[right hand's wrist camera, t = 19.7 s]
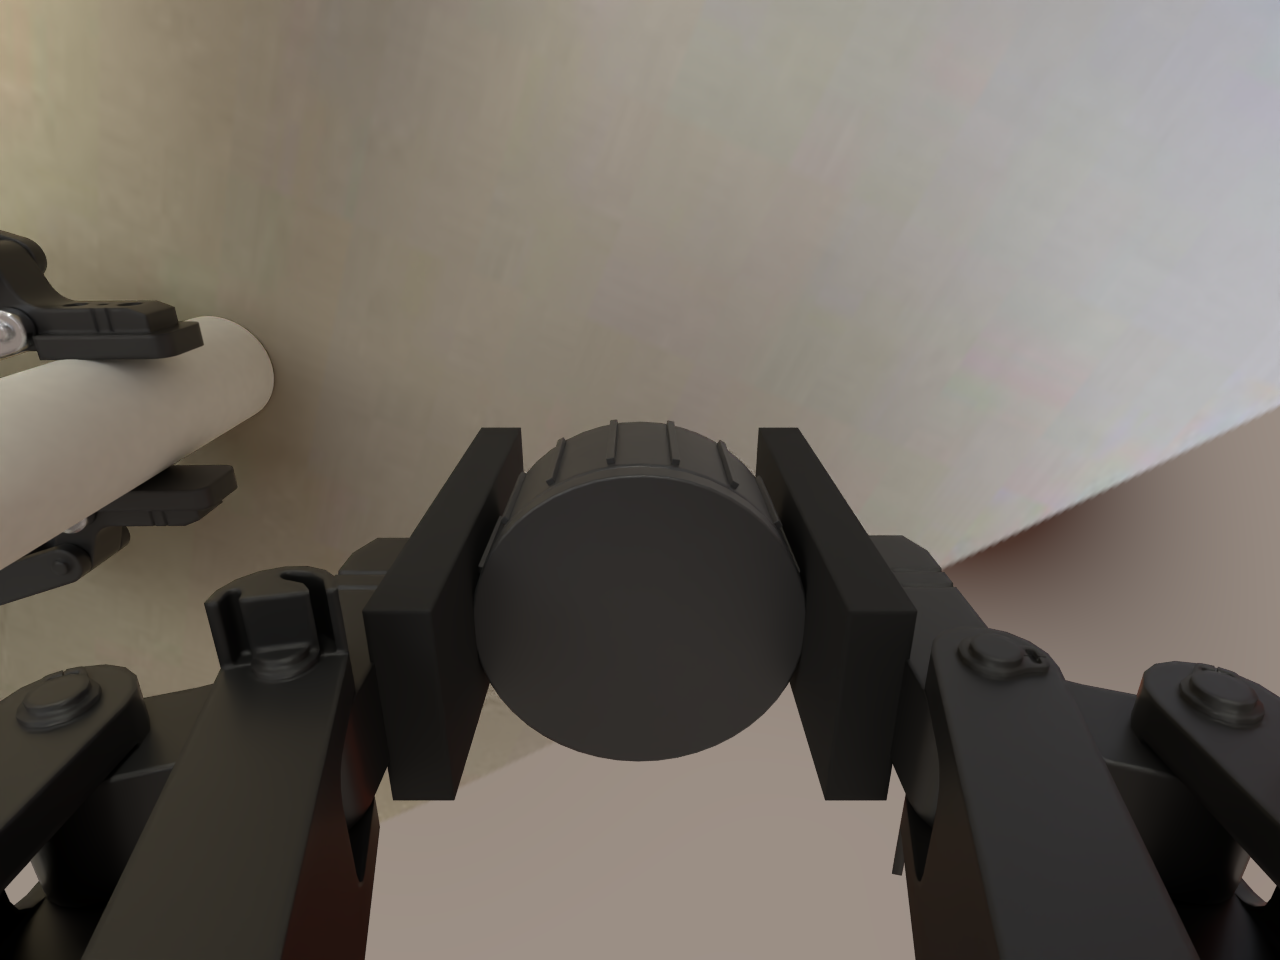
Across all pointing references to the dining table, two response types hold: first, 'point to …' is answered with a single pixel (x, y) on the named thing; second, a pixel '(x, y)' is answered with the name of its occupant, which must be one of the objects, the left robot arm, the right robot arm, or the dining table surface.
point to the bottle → (115, 427)
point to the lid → (639, 595)
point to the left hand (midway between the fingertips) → (203, 415)
